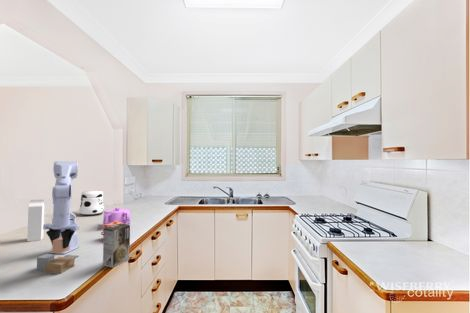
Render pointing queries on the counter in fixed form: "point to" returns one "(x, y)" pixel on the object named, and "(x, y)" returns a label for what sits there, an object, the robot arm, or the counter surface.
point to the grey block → (44, 261)
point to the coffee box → (116, 245)
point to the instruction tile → (71, 256)
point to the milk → (35, 220)
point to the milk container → (91, 203)
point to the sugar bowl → (110, 225)
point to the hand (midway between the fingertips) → (60, 247)
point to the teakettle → (117, 216)
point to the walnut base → (59, 264)
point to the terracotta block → (58, 246)
